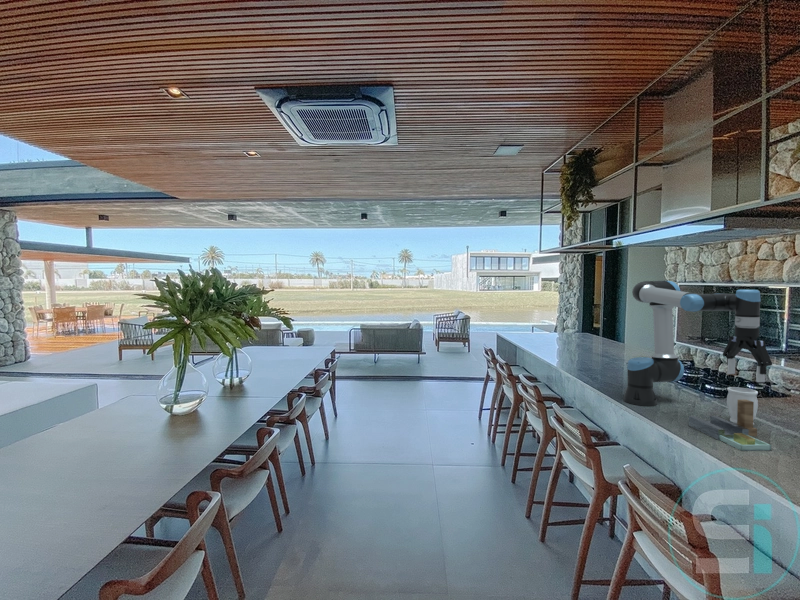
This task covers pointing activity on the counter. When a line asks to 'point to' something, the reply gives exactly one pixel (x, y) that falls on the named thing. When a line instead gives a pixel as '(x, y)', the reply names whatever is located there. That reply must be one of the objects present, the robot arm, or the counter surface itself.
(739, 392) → the jar
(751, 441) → the yellow sponge cube
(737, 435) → the chip
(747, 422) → the stepped wooden block
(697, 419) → the slot board
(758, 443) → the tray
